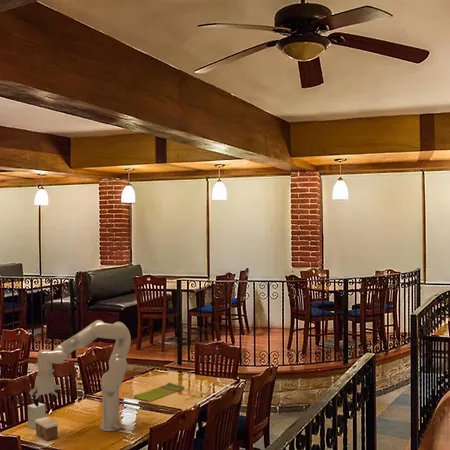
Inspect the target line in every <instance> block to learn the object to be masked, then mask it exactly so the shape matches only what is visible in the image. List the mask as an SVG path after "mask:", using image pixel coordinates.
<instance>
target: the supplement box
mask: <svg viewBox="0 0 450 450" xmlns="http://www.w3.org/2000/svg"><path fill="white" fill-rule="evenodd" d="M44 417H47V416H46V404H45V403H41V402H39V406H35V404H34V403H31V404H29V405H28V404H27V425H28V426H27V427H28V428H30V429H33V430H36V423H35V420H36V419H40V418H44Z"/></svg>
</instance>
